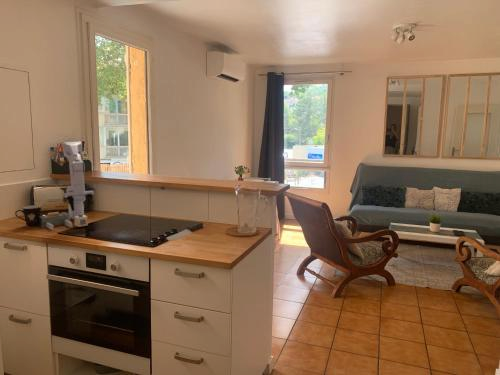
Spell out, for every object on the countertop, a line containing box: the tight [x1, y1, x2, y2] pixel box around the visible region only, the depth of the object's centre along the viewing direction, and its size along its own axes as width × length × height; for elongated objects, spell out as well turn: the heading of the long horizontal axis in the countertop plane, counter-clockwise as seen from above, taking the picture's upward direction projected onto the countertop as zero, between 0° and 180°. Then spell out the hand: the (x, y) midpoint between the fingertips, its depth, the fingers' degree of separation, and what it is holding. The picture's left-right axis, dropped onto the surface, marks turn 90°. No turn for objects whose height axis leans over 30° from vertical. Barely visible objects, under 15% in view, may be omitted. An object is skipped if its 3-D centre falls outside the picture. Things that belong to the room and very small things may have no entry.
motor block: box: [38, 211, 71, 229], centre depth 205 cm, size 6×14×6 cm, turn 133°
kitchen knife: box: [166, 222, 204, 242], centre depth 189 cm, size 29×3×5 cm
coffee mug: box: [14, 205, 42, 228], centre depth 204 cm, size 12×9×10 cm
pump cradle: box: [45, 220, 73, 231], centre depth 200 cm, size 9×11×2 cm
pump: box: [73, 214, 89, 228], centre depth 204 cm, size 6×5×6 cm
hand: (80, 209), depth 203 cm, fingers open, 7 cm apart
